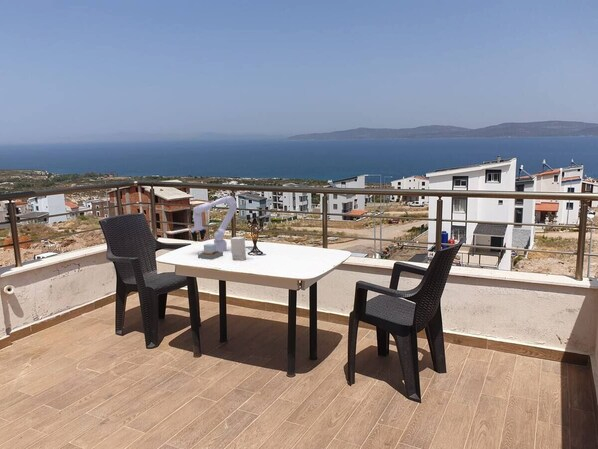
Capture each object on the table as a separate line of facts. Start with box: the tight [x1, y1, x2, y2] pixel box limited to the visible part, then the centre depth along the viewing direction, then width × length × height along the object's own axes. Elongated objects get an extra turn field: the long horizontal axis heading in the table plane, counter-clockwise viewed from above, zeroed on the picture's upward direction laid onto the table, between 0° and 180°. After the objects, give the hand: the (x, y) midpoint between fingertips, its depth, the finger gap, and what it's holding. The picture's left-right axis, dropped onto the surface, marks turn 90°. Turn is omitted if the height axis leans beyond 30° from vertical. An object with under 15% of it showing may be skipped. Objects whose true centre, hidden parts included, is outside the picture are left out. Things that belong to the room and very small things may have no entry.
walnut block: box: [201, 251, 218, 256], centre depth 312 cm, size 8×8×4 cm
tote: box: [197, 251, 224, 261], centre depth 313 cm, size 13×13×4 cm
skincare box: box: [230, 236, 247, 261], centre depth 305 cm, size 8×7×16 cm
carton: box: [203, 243, 216, 253], centre depth 312 cm, size 5×7×5 cm
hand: (198, 240), depth 325 cm, fingers open, 7 cm apart
